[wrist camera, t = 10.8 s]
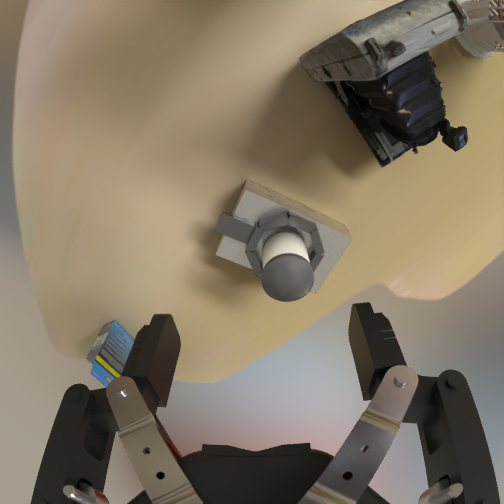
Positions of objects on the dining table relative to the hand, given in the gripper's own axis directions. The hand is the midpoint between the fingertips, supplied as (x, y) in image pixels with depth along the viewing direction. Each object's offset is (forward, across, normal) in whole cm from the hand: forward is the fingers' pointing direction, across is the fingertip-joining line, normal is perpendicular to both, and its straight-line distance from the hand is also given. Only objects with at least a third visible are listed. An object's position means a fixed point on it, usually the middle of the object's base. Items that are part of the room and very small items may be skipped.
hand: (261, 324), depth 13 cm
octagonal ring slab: (+26, -2, +9) cm, 27 cm away
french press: (+27, -30, -21) cm, 46 cm away
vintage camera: (+27, -13, -9) cm, 31 cm away
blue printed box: (+25, +28, +28) cm, 47 cm away
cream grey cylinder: (+22, -2, +9) cm, 23 cm away
